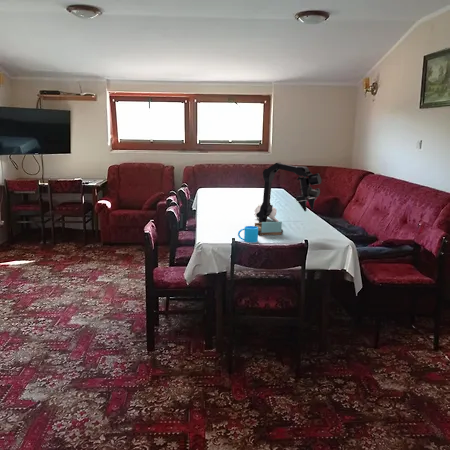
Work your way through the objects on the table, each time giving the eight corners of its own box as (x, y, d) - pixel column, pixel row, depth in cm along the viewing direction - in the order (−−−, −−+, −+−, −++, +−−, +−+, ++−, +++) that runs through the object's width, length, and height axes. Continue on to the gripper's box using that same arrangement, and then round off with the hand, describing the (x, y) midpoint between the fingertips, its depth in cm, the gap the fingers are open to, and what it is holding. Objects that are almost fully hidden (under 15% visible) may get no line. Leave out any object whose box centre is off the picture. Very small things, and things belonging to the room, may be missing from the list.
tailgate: (260, 232, 261) (261, 222, 259) (281, 232, 264) (281, 221, 263) (261, 233, 260) (261, 222, 258) (281, 232, 263) (282, 221, 262)
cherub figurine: (270, 204, 315) (282, 206, 296) (269, 220, 316) (281, 223, 297) (254, 204, 311) (265, 206, 292) (253, 220, 312) (264, 223, 293)
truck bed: (252, 231, 272) (253, 222, 271) (276, 230, 276) (276, 222, 275) (258, 235, 261) (259, 226, 259) (283, 234, 265) (283, 226, 264)
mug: (256, 239, 252) (257, 225, 250) (258, 242, 244) (259, 229, 242) (236, 238, 251) (237, 225, 249) (238, 242, 243) (239, 228, 241)
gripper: (309, 185, 253) (313, 211, 254) (323, 183, 267) (327, 207, 268) (293, 188, 260) (297, 212, 261) (308, 185, 274) (311, 208, 275)
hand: (309, 210), depth 266 cm, fingers open, 9 cm apart
